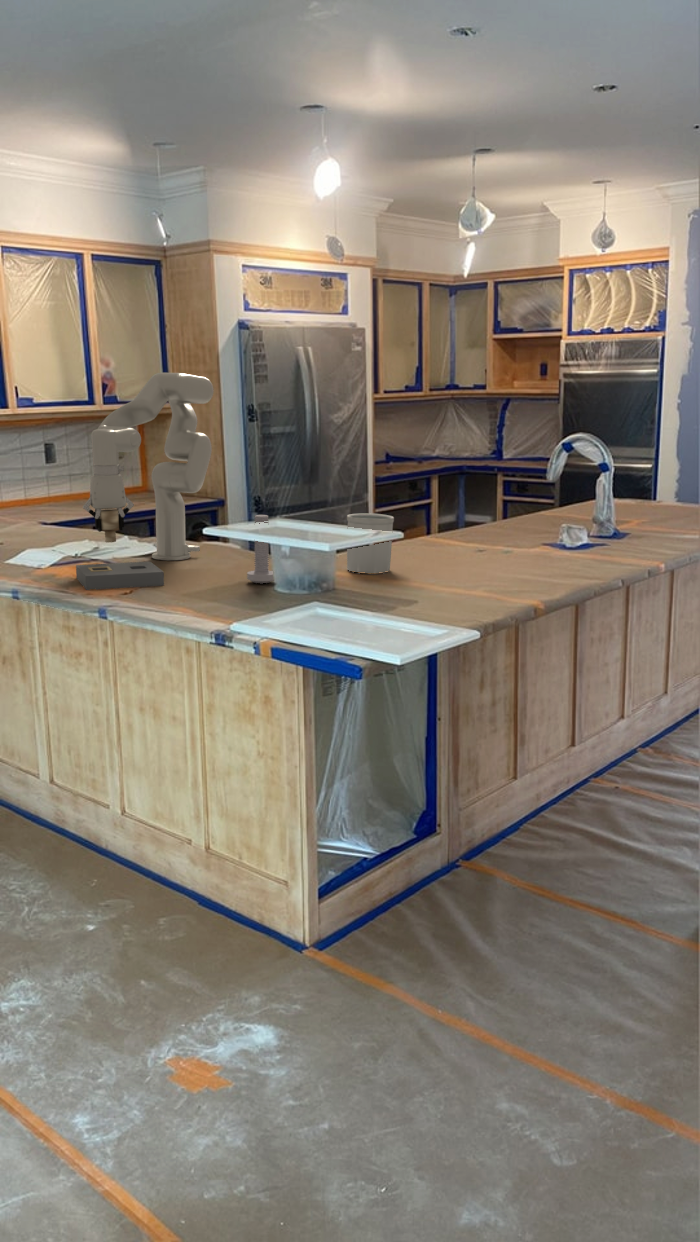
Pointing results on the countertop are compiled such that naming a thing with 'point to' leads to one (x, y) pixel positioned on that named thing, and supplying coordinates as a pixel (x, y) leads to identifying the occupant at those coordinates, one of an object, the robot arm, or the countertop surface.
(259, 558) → the screw
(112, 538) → the peg
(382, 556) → the utensil holder
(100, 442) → the robot arm
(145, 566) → the seat block
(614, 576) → the countertop surface
